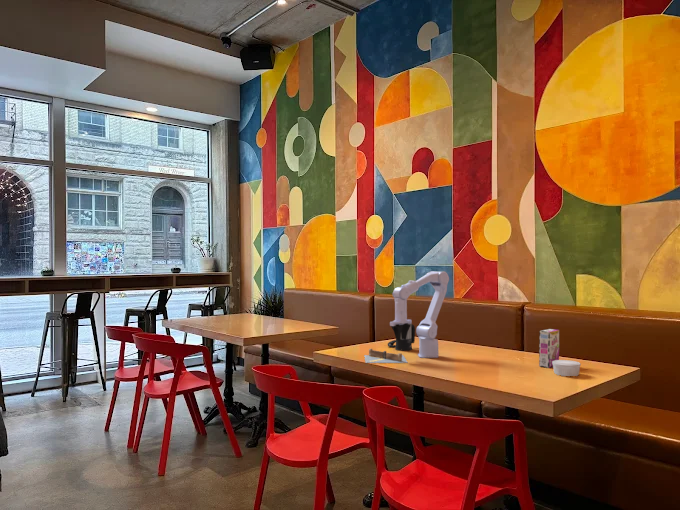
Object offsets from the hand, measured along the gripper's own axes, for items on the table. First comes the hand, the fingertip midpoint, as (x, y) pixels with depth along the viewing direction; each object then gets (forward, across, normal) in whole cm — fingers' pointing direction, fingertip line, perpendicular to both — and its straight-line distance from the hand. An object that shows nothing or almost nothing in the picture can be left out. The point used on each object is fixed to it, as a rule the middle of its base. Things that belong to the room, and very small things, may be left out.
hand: (401, 339), depth 253 cm
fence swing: (+9, +4, -1) cm, 10 cm away
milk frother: (+10, -25, -21) cm, 34 cm away
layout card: (+10, +4, -7) cm, 13 cm away
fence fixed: (+10, +4, -12) cm, 16 cm away
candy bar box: (+10, -37, +57) cm, 69 cm away
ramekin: (+10, -24, +70) cm, 75 cm away
